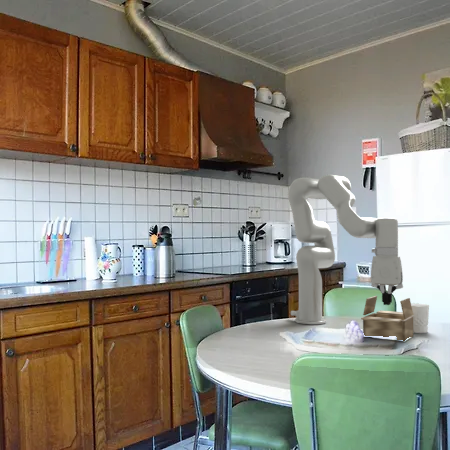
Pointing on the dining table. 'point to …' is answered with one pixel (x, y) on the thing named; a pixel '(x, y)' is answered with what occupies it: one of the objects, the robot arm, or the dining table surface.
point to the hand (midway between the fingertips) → (387, 304)
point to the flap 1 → (370, 305)
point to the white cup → (420, 317)
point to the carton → (388, 325)
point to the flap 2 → (406, 308)
